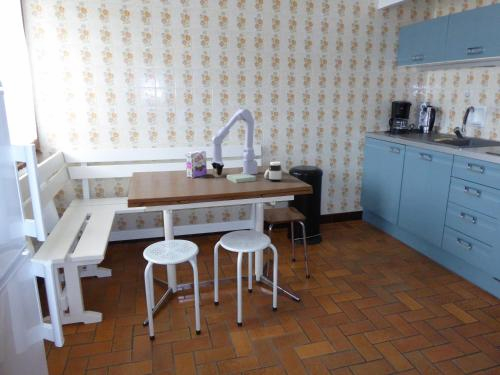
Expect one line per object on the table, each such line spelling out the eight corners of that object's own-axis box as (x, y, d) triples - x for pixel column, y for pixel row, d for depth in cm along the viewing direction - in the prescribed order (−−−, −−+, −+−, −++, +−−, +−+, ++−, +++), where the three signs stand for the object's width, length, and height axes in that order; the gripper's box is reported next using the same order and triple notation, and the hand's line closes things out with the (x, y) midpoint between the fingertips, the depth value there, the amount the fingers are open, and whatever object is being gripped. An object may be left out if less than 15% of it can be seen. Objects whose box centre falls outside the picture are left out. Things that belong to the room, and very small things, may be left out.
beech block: (219, 175, 262) (219, 168, 261) (222, 176, 258) (222, 169, 256) (213, 176, 260) (212, 168, 258) (215, 177, 255) (215, 169, 254)
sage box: (246, 177, 257) (245, 172, 256) (255, 181, 245) (255, 176, 244) (226, 179, 251) (226, 175, 250) (235, 183, 239) (235, 179, 238)
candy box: (192, 178, 253) (191, 153, 249) (186, 177, 257) (185, 152, 253) (207, 174, 264) (206, 150, 260) (200, 173, 267) (200, 150, 263)
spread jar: (280, 182, 239) (280, 164, 236) (262, 181, 241) (262, 163, 239) (282, 178, 251) (282, 160, 248) (265, 177, 253) (265, 160, 250)
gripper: (207, 153, 259) (208, 172, 263) (215, 156, 247) (216, 176, 250) (217, 152, 263) (217, 171, 266) (226, 155, 250) (226, 175, 253)
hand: (217, 174), depth 258 cm, fingers closed on beech block, 5 cm apart
